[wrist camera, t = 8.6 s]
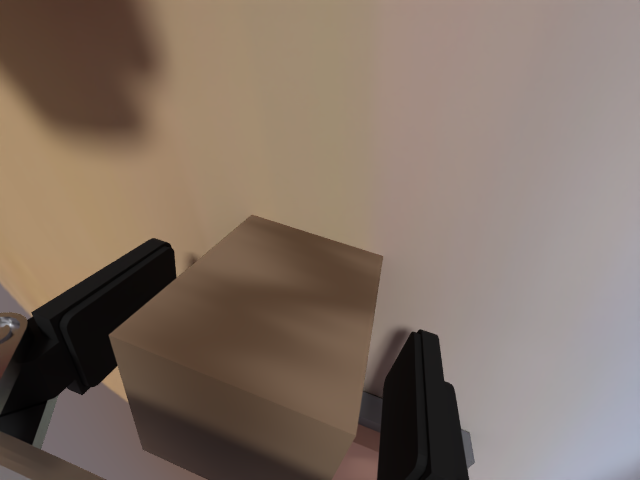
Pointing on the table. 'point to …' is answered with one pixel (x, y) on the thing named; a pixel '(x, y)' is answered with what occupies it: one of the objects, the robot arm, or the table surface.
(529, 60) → the table surface
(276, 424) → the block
